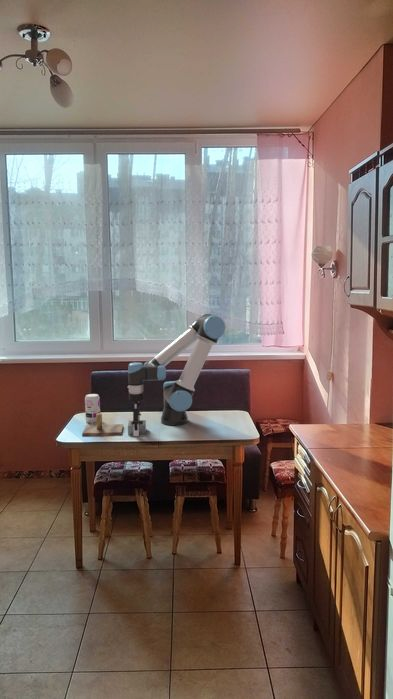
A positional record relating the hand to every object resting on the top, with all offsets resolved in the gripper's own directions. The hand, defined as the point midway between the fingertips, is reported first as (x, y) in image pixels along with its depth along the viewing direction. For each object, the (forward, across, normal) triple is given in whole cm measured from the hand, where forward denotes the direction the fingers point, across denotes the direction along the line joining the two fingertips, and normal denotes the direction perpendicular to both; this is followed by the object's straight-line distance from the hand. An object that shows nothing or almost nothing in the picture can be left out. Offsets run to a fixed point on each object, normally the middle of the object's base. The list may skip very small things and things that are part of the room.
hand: (136, 431), depth 263 cm
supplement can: (0, -23, -26) cm, 35 cm away
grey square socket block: (0, 0, 0) cm, 0 cm away
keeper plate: (0, -3, -18) cm, 18 cm away
